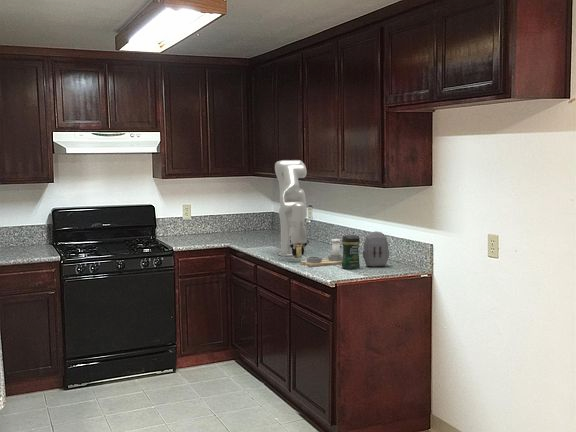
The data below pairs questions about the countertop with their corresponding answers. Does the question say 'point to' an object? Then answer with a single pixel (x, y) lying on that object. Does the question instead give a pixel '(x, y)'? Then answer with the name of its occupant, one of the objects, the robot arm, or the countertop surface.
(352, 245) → the coffee jar
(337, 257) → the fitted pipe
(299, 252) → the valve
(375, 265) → the grey rounded bag
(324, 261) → the board
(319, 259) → the socket
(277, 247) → the countertop surface
